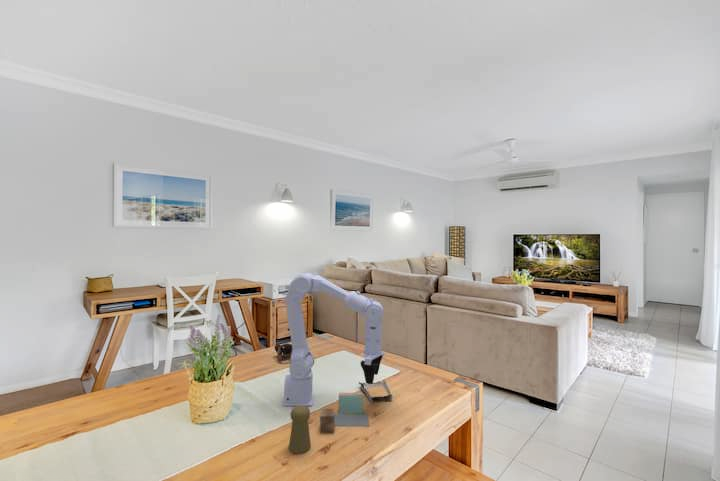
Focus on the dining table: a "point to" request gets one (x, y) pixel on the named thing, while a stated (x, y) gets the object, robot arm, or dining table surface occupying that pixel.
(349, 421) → the felt mat
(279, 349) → the pottery mug
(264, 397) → the dining table surface
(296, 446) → the olive green pepper mill
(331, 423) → the walnut block
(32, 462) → the dining table surface
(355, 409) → the glazed tile
